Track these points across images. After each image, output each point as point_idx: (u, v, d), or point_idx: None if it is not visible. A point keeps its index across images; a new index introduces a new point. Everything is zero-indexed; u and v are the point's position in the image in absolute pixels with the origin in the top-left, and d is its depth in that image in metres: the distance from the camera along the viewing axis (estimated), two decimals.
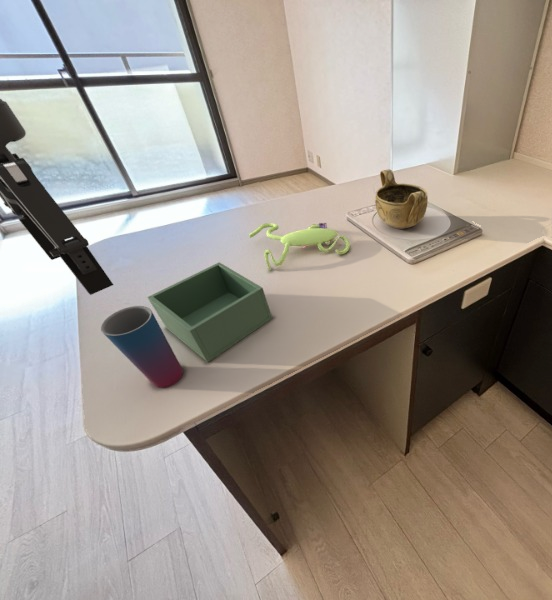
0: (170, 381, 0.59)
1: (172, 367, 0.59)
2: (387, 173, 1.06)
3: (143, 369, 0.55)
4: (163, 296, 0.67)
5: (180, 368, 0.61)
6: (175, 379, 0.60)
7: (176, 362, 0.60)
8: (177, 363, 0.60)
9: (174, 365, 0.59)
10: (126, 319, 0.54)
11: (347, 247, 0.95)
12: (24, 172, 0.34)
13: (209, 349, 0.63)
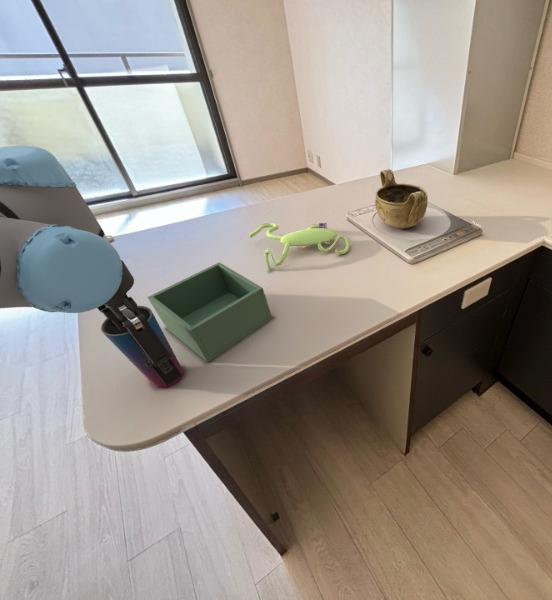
0: None
1: None
2: (387, 173, 1.06)
3: (143, 369, 0.55)
4: (163, 296, 0.67)
5: (180, 368, 0.61)
6: None
7: (176, 362, 0.60)
8: (177, 363, 0.60)
9: None
10: None
11: (347, 247, 0.95)
12: (142, 323, 0.47)
13: (209, 349, 0.63)
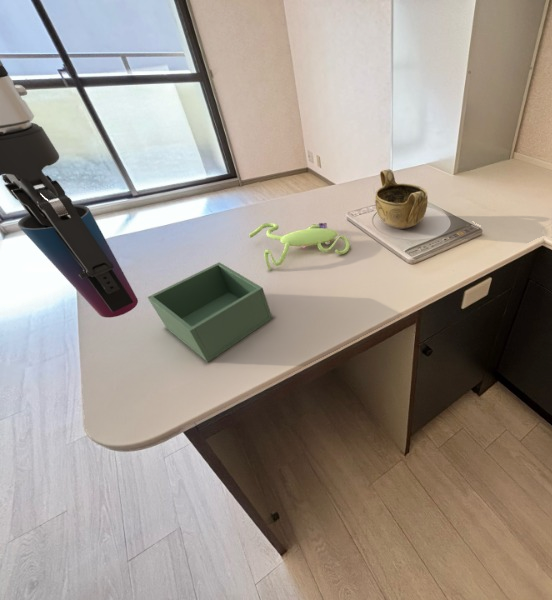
0: (119, 309, 0.48)
1: None
2: (387, 173, 1.06)
3: (80, 287, 0.44)
4: (163, 296, 0.67)
5: (133, 296, 0.50)
6: (126, 308, 0.49)
7: (127, 286, 0.48)
8: (129, 288, 0.49)
9: None
10: None
11: (347, 247, 0.95)
12: (67, 208, 0.36)
13: (209, 349, 0.63)
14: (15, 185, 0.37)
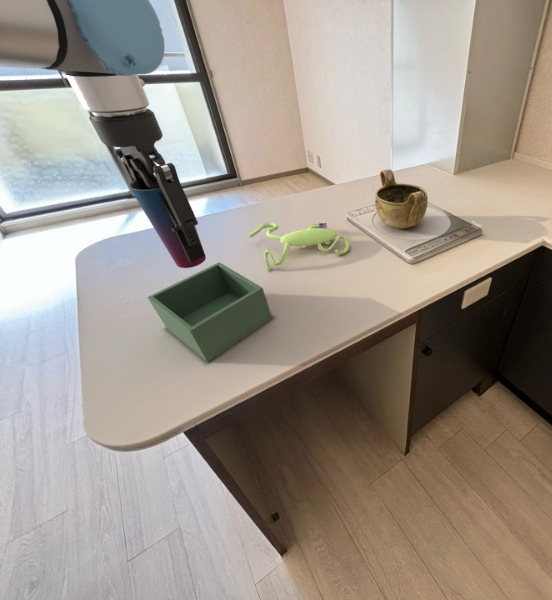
0: (194, 261, 0.59)
1: None
2: (387, 173, 1.06)
3: (168, 240, 0.55)
4: (163, 296, 0.67)
5: None
6: (199, 260, 0.60)
7: (200, 243, 0.60)
8: None
9: None
10: None
11: (347, 247, 0.95)
12: (172, 173, 0.47)
13: (209, 349, 0.63)
14: (130, 156, 0.48)
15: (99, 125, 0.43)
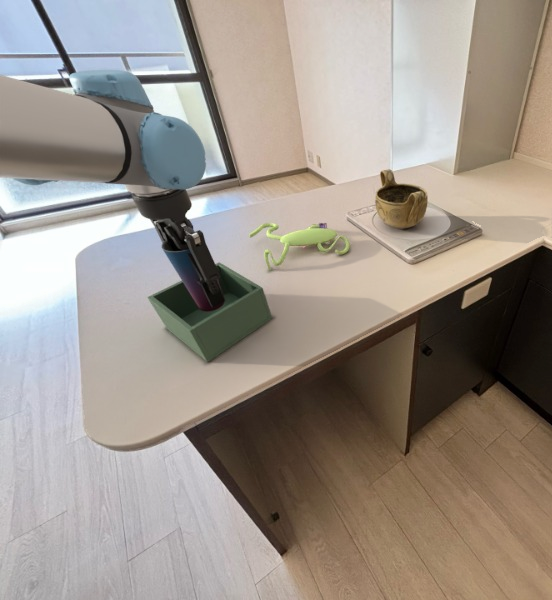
0: None
1: None
2: (387, 173, 1.06)
3: (194, 290, 0.62)
4: (163, 296, 0.67)
5: (223, 296, 0.68)
6: (219, 304, 0.67)
7: (220, 289, 0.67)
8: (221, 290, 0.67)
9: None
10: None
11: (347, 247, 0.95)
12: (200, 239, 0.55)
13: (209, 349, 0.63)
14: (163, 223, 0.56)
15: (141, 203, 0.50)
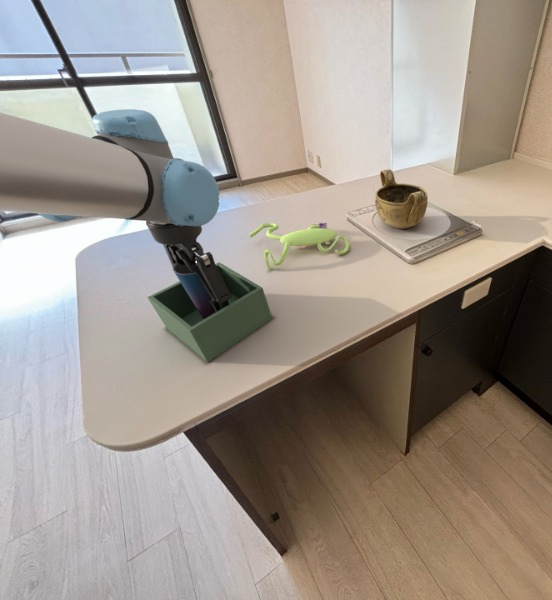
0: None
1: None
2: (387, 173, 1.06)
3: (203, 309, 0.66)
4: (163, 296, 0.67)
5: None
6: None
7: None
8: None
9: None
10: None
11: (347, 247, 0.95)
12: (210, 260, 0.57)
13: (209, 349, 0.63)
14: (175, 247, 0.59)
15: (155, 230, 0.53)
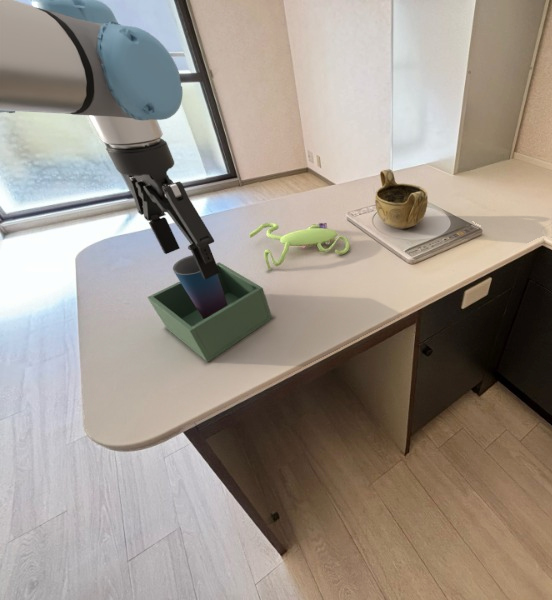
0: None
1: None
2: (387, 173, 1.06)
3: (203, 309, 0.66)
4: (163, 296, 0.67)
5: None
6: None
7: None
8: None
9: None
10: (189, 265, 0.64)
11: (347, 247, 0.95)
12: (180, 190, 0.49)
13: (209, 349, 0.63)
14: (144, 184, 0.51)
15: (116, 156, 0.45)
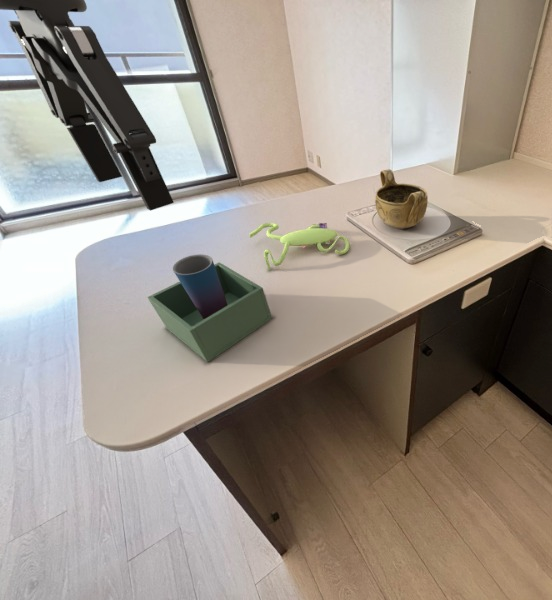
0: None
1: None
2: (387, 173, 1.06)
3: (203, 309, 0.66)
4: (163, 296, 0.67)
5: None
6: None
7: None
8: None
9: None
10: (189, 265, 0.64)
11: (347, 247, 0.95)
12: (90, 41, 0.29)
13: (209, 349, 0.63)
14: None
15: None
